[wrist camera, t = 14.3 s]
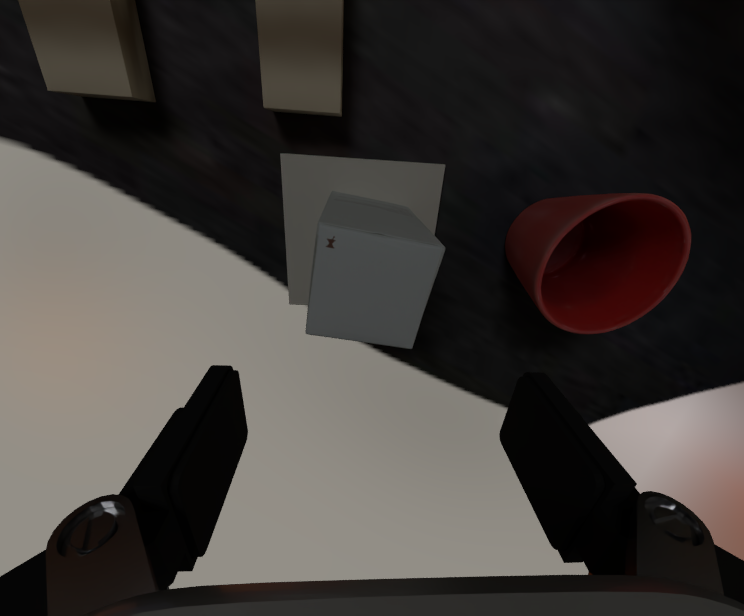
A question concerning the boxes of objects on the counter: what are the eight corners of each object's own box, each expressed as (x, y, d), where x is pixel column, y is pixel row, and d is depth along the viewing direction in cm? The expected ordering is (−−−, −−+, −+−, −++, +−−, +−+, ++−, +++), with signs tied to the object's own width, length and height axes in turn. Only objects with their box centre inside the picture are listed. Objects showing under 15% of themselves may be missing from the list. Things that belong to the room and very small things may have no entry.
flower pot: (485, 194, 29) (540, 215, 21) (605, 168, 29) (712, 178, 20) (489, 296, 34) (534, 347, 26) (591, 275, 34) (674, 319, 25)
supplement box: (319, 267, 31) (299, 335, 20) (331, 188, 28) (316, 217, 17) (392, 280, 32) (412, 353, 21) (412, 206, 29) (448, 245, 18)
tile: (281, 153, 27) (280, 153, 26) (443, 164, 28) (445, 164, 27) (290, 301, 33) (289, 304, 33) (422, 306, 34) (423, 308, 34)
